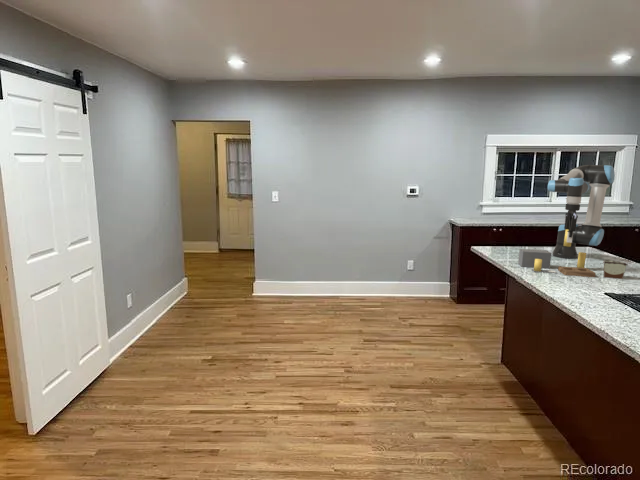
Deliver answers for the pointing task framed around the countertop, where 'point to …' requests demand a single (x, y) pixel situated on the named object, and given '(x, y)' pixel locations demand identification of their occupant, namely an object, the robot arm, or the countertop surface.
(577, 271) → the socket board
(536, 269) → the grey and yellow fixture
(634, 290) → the countertop surface
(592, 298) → the countertop surface
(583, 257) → the peg
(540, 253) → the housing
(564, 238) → the peg
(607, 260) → the food container
